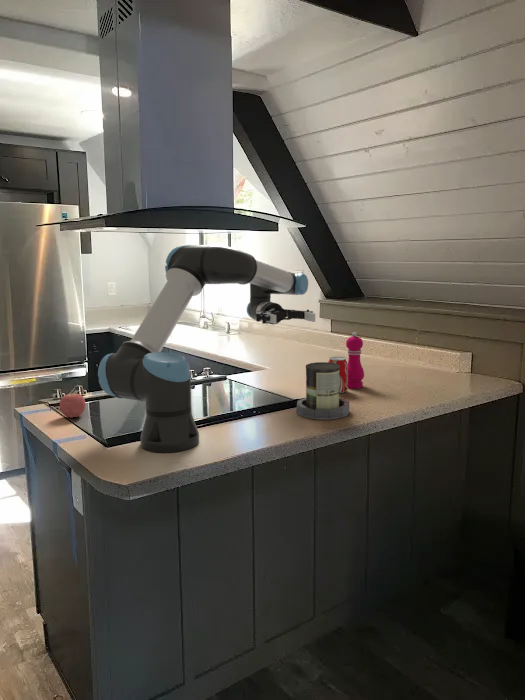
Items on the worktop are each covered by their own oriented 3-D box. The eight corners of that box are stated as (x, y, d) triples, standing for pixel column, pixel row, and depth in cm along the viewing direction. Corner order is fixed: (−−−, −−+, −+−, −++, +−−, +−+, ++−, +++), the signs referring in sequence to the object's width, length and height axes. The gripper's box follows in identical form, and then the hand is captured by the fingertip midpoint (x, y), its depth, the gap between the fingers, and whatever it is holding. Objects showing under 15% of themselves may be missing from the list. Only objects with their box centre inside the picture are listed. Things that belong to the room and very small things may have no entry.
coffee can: (300, 412, 175) (300, 367, 172) (313, 404, 184) (313, 361, 181) (332, 416, 170) (332, 370, 167) (344, 408, 179) (344, 363, 176)
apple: (60, 415, 178) (58, 390, 177) (85, 412, 181) (83, 387, 179) (61, 421, 171) (59, 395, 170) (87, 418, 174) (85, 393, 173)
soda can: (345, 394, 197) (345, 360, 195) (325, 393, 200) (325, 359, 198) (349, 390, 204) (349, 356, 202) (329, 388, 206) (330, 355, 204)
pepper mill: (356, 390, 204) (357, 334, 200) (340, 387, 209) (340, 332, 205) (367, 386, 209) (368, 331, 206) (351, 383, 214) (351, 330, 210)
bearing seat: (311, 422, 167) (311, 412, 166) (289, 408, 181) (289, 399, 181) (358, 416, 172) (358, 406, 172) (333, 403, 187) (333, 394, 186)
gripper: (302, 321, 208) (329, 328, 188) (236, 325, 199) (258, 332, 179) (302, 301, 206) (330, 305, 187) (236, 303, 198) (258, 308, 178)
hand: (295, 318), depth 183 cm, fingers open, 13 cm apart
